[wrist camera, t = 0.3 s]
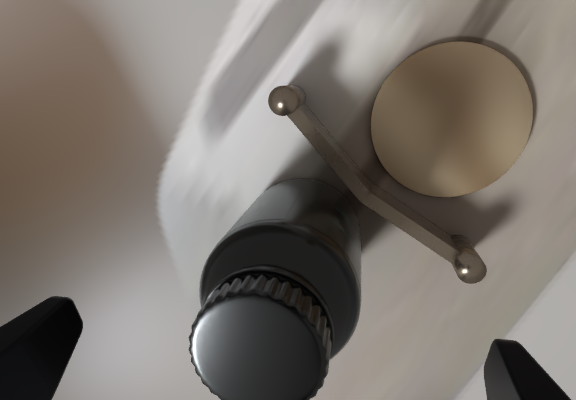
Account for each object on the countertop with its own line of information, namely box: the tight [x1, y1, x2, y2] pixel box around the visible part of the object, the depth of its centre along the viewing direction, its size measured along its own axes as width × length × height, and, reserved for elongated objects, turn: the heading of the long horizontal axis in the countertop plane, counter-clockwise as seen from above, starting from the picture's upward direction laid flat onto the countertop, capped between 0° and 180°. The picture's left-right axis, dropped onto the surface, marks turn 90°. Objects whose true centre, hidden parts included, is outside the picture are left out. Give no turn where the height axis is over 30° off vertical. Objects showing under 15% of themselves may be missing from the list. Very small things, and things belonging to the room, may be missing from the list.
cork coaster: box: [371, 42, 533, 197], centre depth 22 cm, size 8×8×1 cm
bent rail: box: [268, 85, 487, 284], centre depth 22 cm, size 2×14×3 cm, turn 49°
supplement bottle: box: [189, 179, 361, 400], centre depth 19 cm, size 7×7×12 cm
